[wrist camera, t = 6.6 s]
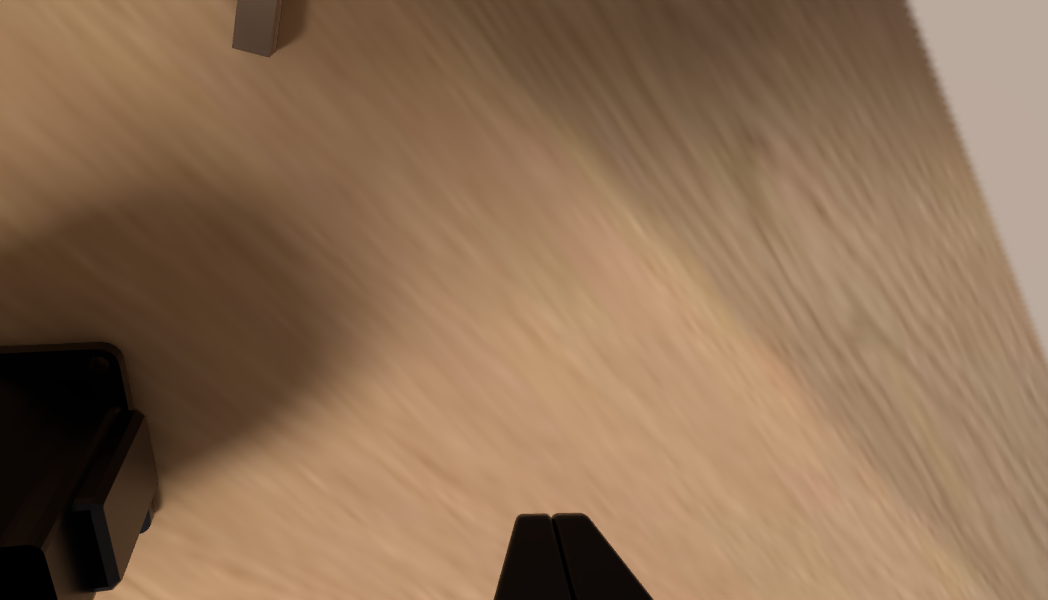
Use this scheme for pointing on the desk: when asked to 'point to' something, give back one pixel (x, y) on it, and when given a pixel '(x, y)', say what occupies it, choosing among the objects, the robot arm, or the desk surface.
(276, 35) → the guide track
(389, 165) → the desk surface
